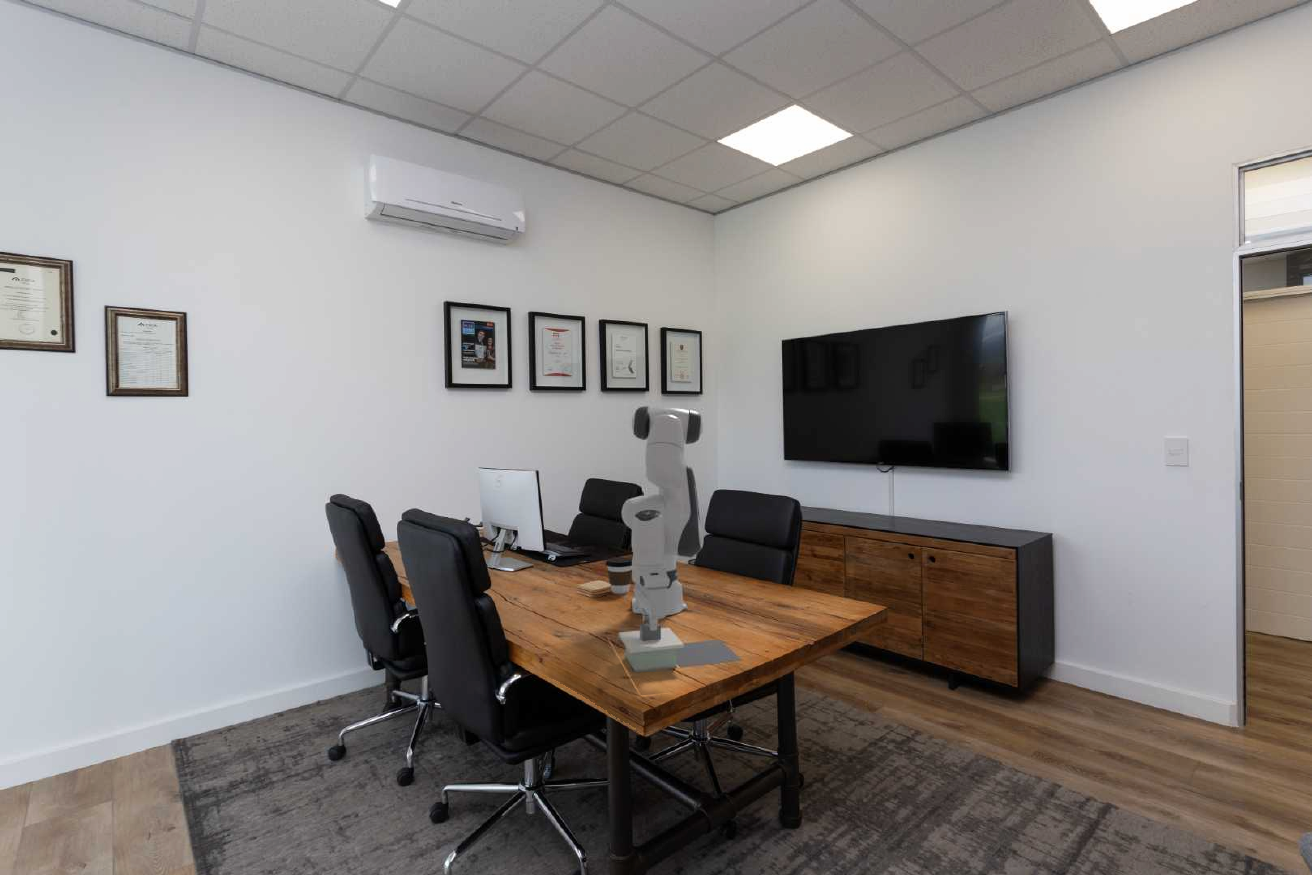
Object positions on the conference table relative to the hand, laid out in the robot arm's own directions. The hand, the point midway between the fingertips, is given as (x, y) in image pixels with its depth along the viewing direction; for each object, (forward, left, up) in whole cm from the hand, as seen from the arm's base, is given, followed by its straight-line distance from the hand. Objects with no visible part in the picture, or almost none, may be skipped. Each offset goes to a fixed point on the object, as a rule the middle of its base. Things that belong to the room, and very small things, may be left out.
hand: (649, 625), depth 170 cm
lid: (0, 0, -4) cm, 4 cm away
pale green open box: (0, 0, -10) cm, 10 cm away
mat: (-3, +15, -10) cm, 18 cm away
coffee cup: (-74, +7, -10) cm, 75 cm away
